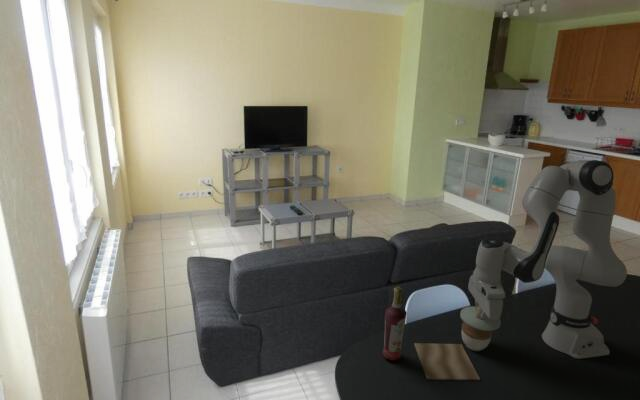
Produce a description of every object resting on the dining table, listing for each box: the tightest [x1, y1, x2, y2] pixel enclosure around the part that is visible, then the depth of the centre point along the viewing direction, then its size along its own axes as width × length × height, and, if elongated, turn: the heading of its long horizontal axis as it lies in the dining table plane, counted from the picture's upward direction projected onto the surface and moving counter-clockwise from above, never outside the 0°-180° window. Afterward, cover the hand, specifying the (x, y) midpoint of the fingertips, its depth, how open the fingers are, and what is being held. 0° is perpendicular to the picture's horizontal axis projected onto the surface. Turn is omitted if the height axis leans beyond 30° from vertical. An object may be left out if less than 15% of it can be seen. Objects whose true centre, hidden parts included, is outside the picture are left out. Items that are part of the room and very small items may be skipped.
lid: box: [459, 305, 502, 332], centre depth 142 cm, size 14×14×5 cm
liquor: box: [381, 286, 407, 362], centre depth 135 cm, size 7×7×28 cm
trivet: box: [414, 342, 481, 381], centre depth 137 cm, size 18×18×1 cm
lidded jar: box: [460, 322, 493, 352], centre depth 145 cm, size 11×11×9 cm
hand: (480, 314), depth 142 cm, fingers closed on lid, 3 cm apart
